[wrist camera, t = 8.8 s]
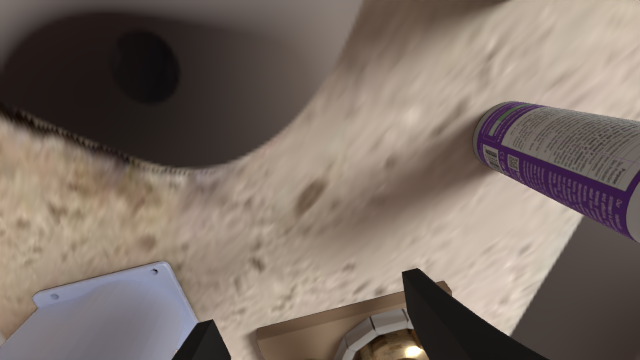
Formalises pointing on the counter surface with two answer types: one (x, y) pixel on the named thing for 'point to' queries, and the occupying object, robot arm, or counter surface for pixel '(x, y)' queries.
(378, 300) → the carrier board
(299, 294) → the counter surface
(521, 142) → the container
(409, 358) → the planet gear
